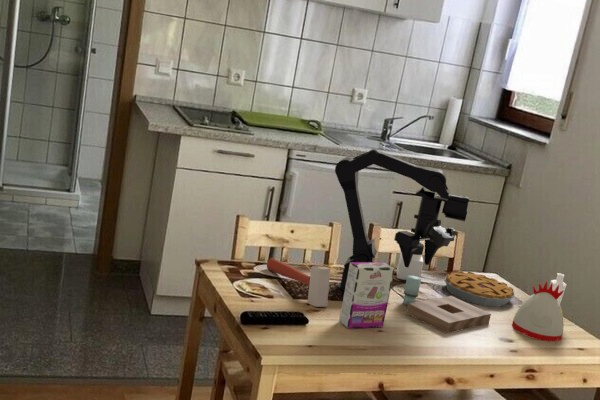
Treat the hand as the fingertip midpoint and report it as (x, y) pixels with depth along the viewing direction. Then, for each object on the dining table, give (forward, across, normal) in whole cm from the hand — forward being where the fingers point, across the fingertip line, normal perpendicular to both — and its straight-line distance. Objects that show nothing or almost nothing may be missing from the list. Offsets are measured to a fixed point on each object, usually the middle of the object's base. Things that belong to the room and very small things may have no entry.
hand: (416, 265), depth 218 cm
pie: (+12, +32, -2) cm, 34 cm away
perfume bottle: (+12, +36, -25) cm, 45 cm away
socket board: (+12, +3, -12) cm, 17 cm away
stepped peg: (+12, 0, 0) cm, 12 cm away
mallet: (+12, -26, +21) cm, 36 cm away
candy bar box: (+12, -27, -6) cm, 30 cm away
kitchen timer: (+12, +24, -28) cm, 39 cm away
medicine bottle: (+12, +20, +17) cm, 29 cm away
